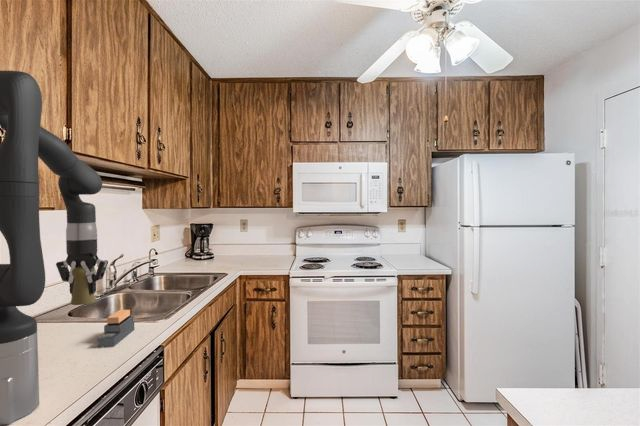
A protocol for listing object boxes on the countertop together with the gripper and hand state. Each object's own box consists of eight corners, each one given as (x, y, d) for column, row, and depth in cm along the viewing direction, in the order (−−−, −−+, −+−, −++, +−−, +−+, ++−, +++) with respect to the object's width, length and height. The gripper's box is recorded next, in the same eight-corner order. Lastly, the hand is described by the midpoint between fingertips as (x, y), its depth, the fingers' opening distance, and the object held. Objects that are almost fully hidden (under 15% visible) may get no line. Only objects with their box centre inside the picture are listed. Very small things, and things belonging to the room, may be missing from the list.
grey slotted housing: (114, 346, 107) (113, 329, 107) (97, 347, 107) (97, 330, 106) (134, 329, 121) (134, 315, 121) (120, 330, 121) (119, 315, 120)
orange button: (118, 323, 111) (118, 317, 111) (107, 323, 111) (107, 317, 111) (130, 315, 119) (129, 309, 119) (119, 315, 119) (119, 309, 119)
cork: (98, 301, 99) (97, 265, 99) (73, 306, 95) (72, 268, 95) (92, 297, 103) (91, 263, 103) (68, 302, 99) (67, 265, 99)
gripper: (47, 239, 94) (48, 299, 95) (99, 239, 96) (101, 297, 96) (65, 236, 102) (66, 292, 102) (113, 236, 103) (114, 290, 104)
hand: (83, 294), depth 99 cm, fingers closed on cork, 4 cm apart
